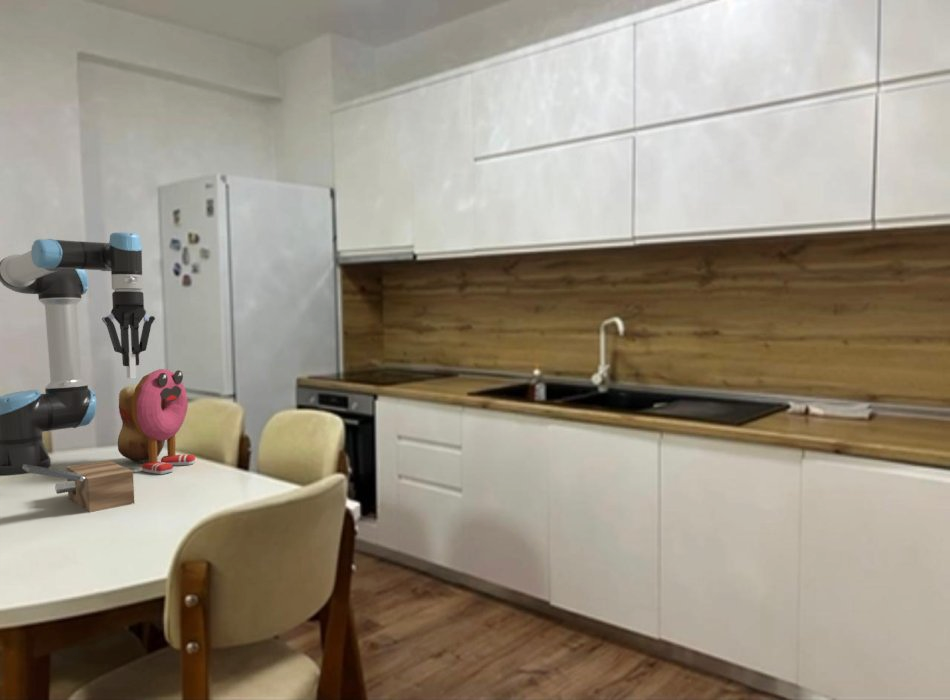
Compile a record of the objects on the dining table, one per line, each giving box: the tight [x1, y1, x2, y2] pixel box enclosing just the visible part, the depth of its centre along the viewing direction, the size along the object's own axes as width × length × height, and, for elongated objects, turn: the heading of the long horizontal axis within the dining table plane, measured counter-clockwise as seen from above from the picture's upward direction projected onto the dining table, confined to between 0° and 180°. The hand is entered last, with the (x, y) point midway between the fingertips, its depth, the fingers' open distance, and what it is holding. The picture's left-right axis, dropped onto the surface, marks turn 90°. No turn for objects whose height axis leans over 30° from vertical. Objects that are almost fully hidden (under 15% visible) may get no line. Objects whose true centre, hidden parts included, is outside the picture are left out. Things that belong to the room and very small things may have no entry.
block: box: [66, 460, 135, 513], centre depth 171 cm, size 18×10×8 cm, turn 45°
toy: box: [132, 368, 196, 475], centre depth 204 cm, size 21×10×30 cm, turn 168°
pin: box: [54, 480, 76, 495], centre depth 173 cm, size 15×5×5 cm, turn 135°
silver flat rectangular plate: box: [22, 464, 86, 482], centre depth 159 cm, size 7×1×12 cm
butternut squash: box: [117, 383, 166, 464], centre depth 213 cm, size 14×13×25 cm
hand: (131, 377), depth 185 cm, fingers closed
